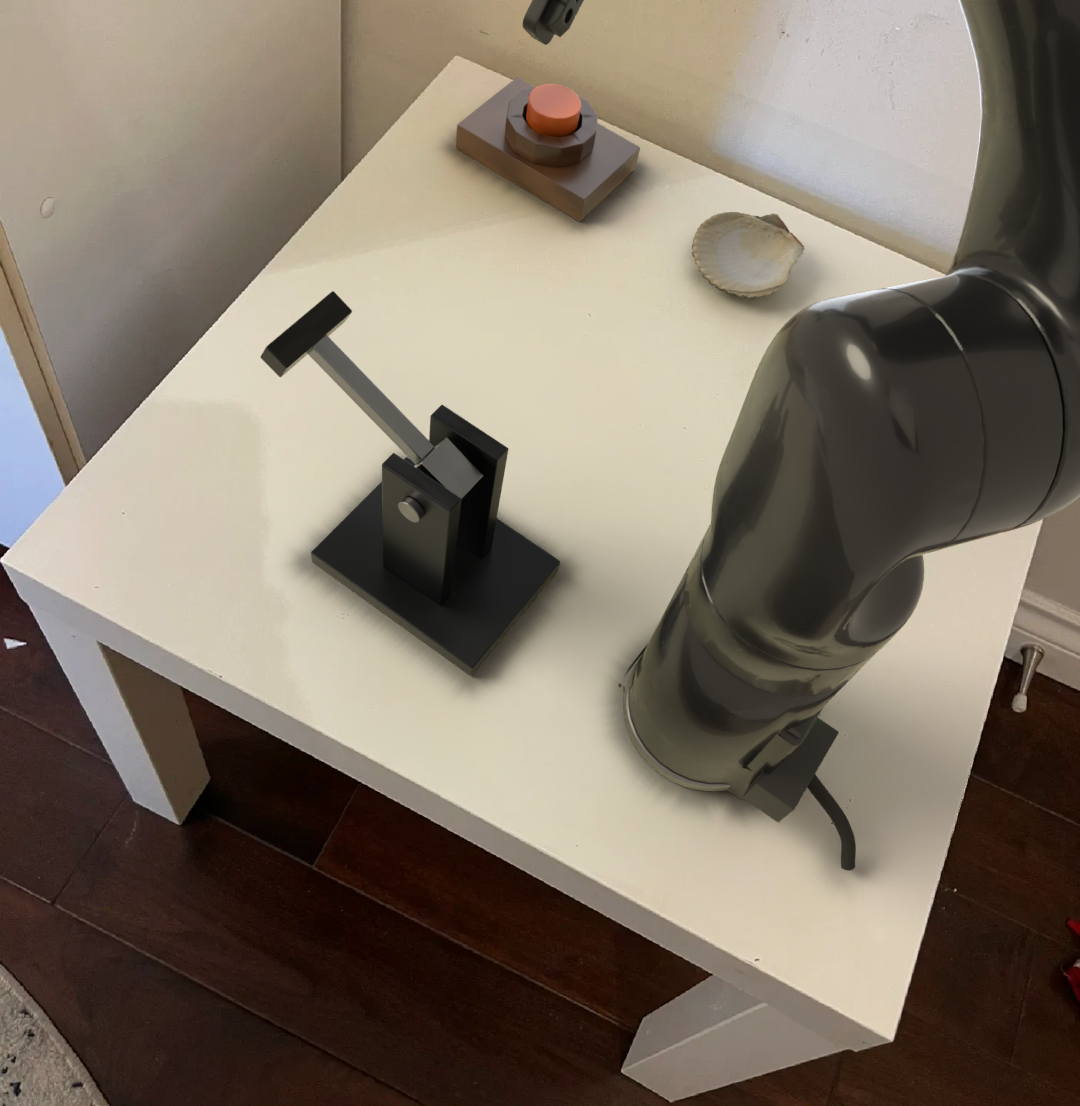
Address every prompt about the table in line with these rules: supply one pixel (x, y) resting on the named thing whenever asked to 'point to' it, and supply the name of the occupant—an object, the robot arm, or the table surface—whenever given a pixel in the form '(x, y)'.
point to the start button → (553, 110)
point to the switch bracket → (440, 551)
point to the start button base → (547, 152)
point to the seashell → (745, 253)
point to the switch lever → (367, 393)
